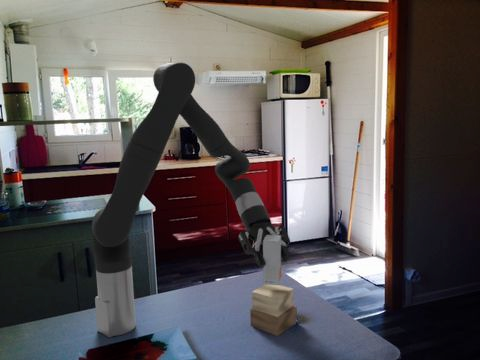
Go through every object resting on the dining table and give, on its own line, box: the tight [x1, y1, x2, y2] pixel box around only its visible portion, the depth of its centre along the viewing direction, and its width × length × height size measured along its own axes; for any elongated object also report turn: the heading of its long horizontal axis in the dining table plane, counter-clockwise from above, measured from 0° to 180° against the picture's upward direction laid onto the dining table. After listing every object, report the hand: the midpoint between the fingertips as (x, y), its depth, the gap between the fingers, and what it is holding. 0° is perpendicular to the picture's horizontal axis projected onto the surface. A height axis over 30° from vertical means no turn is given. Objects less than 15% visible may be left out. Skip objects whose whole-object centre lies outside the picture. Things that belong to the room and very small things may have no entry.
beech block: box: [251, 284, 294, 317], centre depth 112 cm, size 8×8×5 cm
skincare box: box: [262, 235, 282, 285], centre depth 110 cm, size 6×4×12 cm
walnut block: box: [249, 304, 298, 337], centre depth 113 cm, size 9×9×5 cm
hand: (275, 263), depth 109 cm, fingers closed on skincare box, 7 cm apart
